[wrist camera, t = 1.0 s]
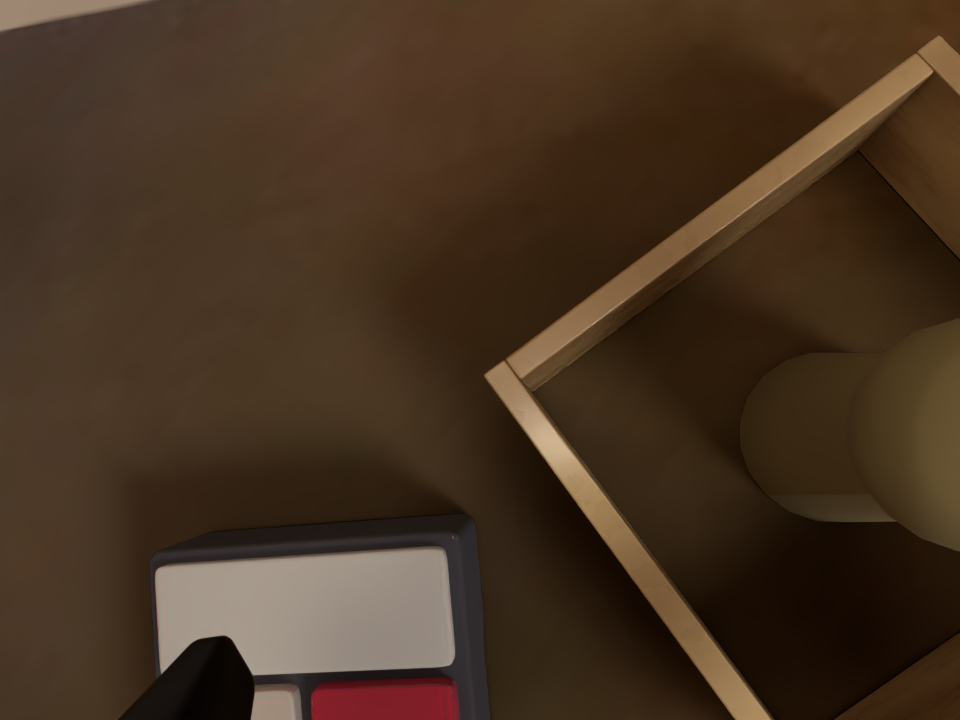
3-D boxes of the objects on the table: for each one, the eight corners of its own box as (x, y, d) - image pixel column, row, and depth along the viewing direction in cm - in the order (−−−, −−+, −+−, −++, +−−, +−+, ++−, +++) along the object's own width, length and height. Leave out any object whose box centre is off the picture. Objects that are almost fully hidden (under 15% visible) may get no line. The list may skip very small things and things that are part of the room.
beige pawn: (862, 322, 24) (1094, 229, 13) (954, 477, 23) (1287, 512, 12) (708, 397, 25) (809, 365, 14) (791, 551, 24) (972, 649, 13)
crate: (1208, 491, 22) (1415, 509, 16) (790, 780, 23) (857, 887, 17) (861, 121, 25) (939, 33, 19) (503, 388, 26) (482, 375, 20)
